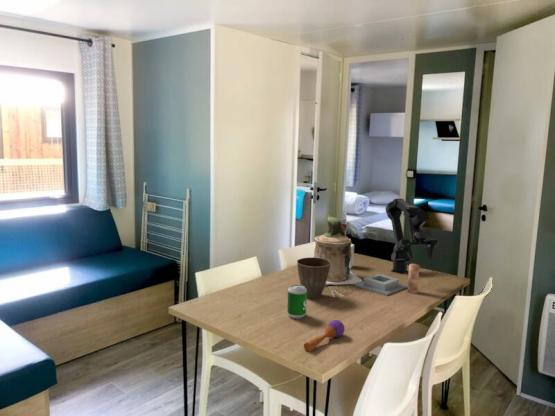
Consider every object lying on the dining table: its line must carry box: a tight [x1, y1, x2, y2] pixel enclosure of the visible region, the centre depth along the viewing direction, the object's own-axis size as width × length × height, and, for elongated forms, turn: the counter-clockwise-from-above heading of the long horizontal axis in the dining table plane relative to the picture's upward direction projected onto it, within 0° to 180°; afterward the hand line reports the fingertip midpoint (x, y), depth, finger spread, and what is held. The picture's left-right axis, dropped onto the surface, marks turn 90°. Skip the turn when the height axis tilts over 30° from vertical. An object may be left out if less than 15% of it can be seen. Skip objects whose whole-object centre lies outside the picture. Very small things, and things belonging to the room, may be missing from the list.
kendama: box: [303, 319, 345, 353], centre depth 159 cm, size 6×6×20 cm
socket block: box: [354, 273, 408, 296], centre depth 219 cm, size 18×18×4 cm
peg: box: [407, 263, 420, 295], centre depth 212 cm, size 4×4×13 cm
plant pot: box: [296, 257, 331, 300], centre depth 203 cm, size 15×15×16 cm
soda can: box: [286, 284, 308, 320], centre depth 181 cm, size 8×8×12 cm
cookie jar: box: [313, 215, 363, 286], centre depth 230 cm, size 25×25×32 cm
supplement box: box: [349, 243, 355, 270], centre depth 252 cm, size 7×7×13 cm
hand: (421, 260), depth 219 cm, fingers open, 9 cm apart
